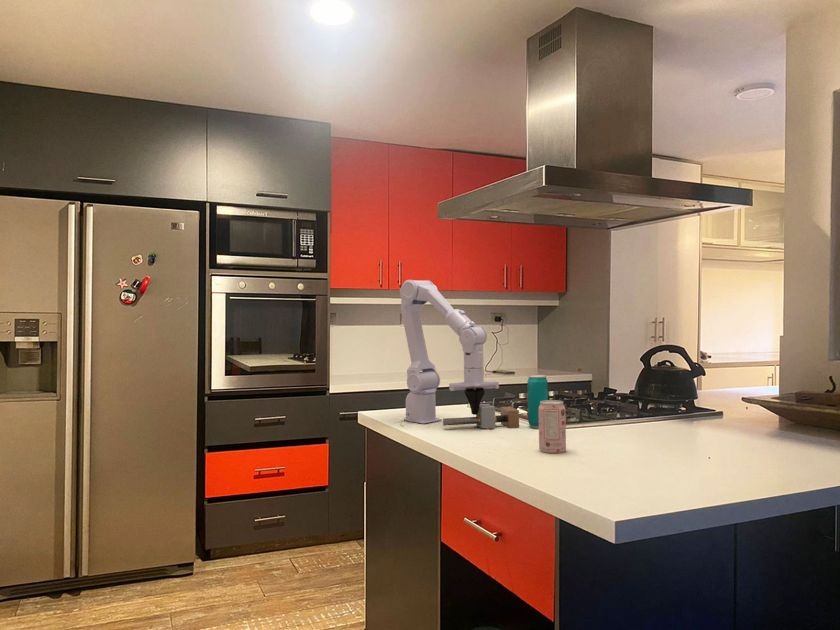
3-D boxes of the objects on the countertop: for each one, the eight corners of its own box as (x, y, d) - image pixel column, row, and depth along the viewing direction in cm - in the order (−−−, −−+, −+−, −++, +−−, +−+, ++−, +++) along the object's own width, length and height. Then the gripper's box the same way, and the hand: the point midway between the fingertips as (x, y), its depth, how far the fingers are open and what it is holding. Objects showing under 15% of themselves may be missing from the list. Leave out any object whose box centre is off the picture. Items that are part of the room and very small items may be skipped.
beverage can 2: (567, 448, 159) (566, 400, 159) (564, 454, 153) (563, 404, 152) (541, 447, 161) (540, 399, 161) (537, 452, 155) (536, 403, 155)
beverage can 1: (547, 425, 189) (546, 374, 189) (549, 429, 183) (548, 376, 183) (527, 425, 190) (526, 374, 189) (529, 429, 184) (528, 377, 184)
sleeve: (482, 428, 185) (481, 407, 185) (476, 424, 191) (475, 404, 190) (495, 427, 185) (494, 407, 185) (489, 423, 191) (488, 403, 191)
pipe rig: (447, 432, 181) (447, 415, 181) (440, 426, 190) (440, 410, 190) (520, 428, 185) (520, 410, 185) (510, 422, 194) (509, 406, 194)
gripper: (452, 370, 182) (453, 417, 182) (501, 368, 184) (502, 415, 185) (447, 367, 189) (448, 413, 189) (494, 365, 191) (495, 411, 192)
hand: (474, 414), depth 187 cm, fingers closed
